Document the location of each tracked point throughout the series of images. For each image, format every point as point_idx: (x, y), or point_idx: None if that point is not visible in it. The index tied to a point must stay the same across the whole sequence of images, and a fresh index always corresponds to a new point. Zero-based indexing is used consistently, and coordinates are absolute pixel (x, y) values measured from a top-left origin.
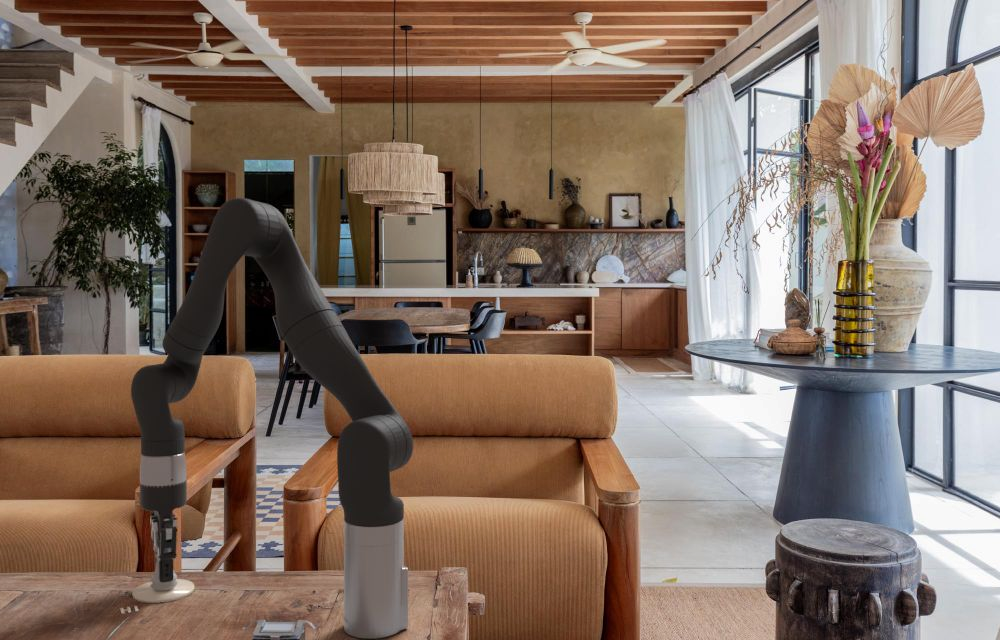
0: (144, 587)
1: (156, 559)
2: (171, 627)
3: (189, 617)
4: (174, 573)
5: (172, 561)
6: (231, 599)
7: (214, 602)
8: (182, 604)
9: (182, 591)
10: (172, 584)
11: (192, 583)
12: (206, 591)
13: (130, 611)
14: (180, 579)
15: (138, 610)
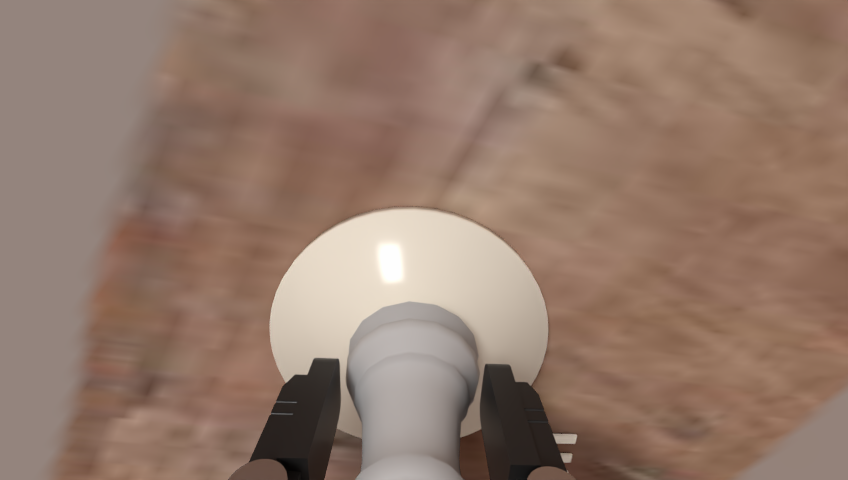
0: (350, 403)
1: (323, 478)
2: (826, 366)
3: (784, 295)
4: (424, 348)
5: (536, 456)
6: (714, 63)
7: (690, 159)
8: (611, 292)
9: (494, 280)
10: (461, 335)
11: (398, 216)
12: (505, 160)
13: (569, 457)
14: (302, 257)
15: (576, 436)
